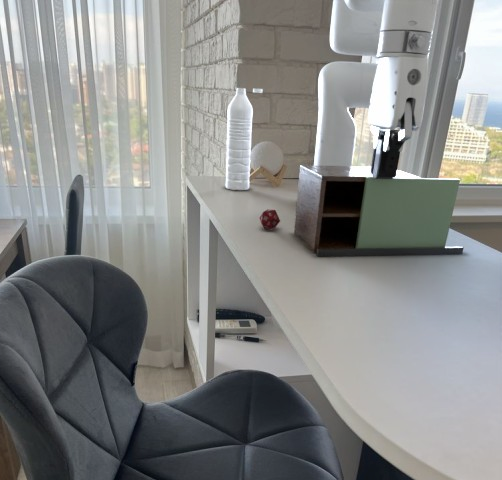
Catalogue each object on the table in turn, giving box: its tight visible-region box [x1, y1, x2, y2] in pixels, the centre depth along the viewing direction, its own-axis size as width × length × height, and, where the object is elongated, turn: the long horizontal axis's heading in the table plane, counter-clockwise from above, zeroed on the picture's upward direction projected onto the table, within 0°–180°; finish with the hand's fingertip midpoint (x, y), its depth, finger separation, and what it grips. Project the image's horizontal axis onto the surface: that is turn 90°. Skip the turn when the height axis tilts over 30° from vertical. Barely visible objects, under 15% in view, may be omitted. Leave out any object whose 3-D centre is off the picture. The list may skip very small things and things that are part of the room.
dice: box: [259, 209, 281, 230], centre depth 100 cm, size 4×4×4 cm
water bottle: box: [225, 87, 264, 191], centre depth 134 cm, size 9×6×25 cm
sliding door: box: [356, 139, 461, 248], centre depth 86 cm, size 2×17×19 cm, turn 102°
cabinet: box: [293, 164, 465, 257], centre depth 92 cm, size 14×28×13 cm, turn 102°
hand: (383, 174), depth 83 cm, fingers closed on sliding door
